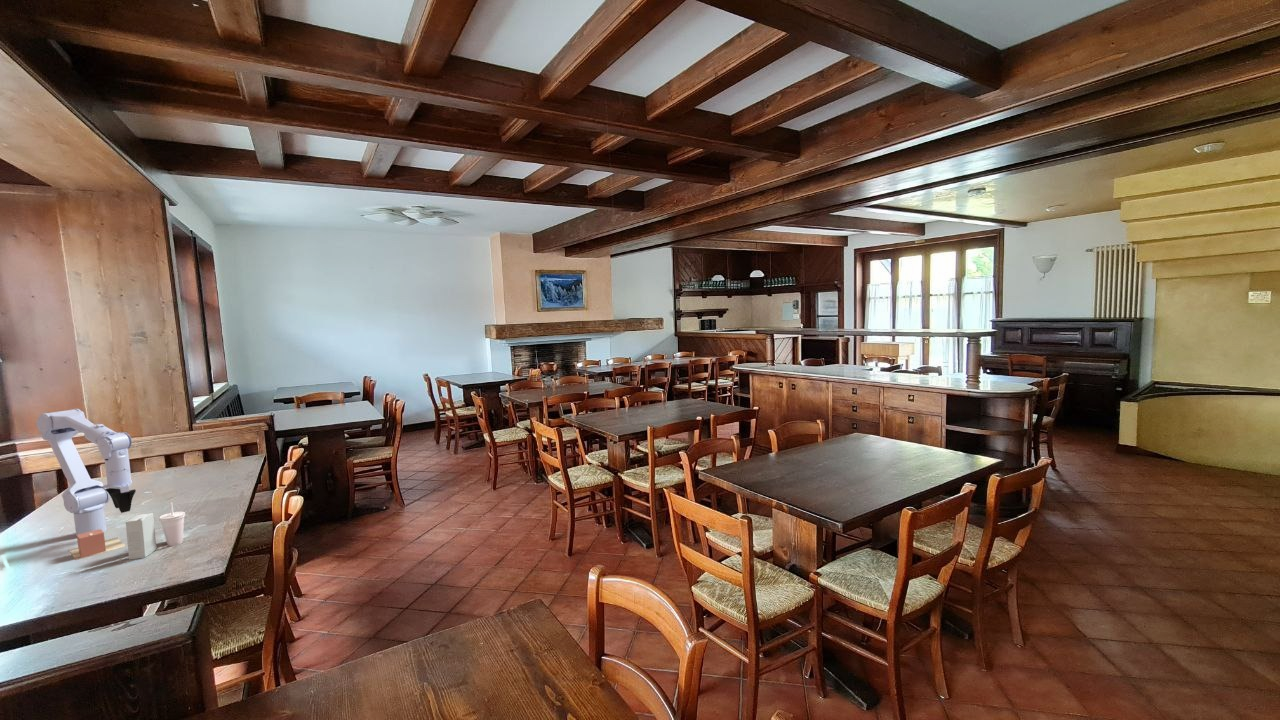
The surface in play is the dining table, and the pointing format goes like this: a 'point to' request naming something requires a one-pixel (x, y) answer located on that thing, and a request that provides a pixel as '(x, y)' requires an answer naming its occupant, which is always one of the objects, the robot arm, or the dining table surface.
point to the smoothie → (173, 526)
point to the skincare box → (141, 536)
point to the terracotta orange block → (91, 543)
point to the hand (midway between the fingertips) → (122, 509)
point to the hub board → (109, 545)
